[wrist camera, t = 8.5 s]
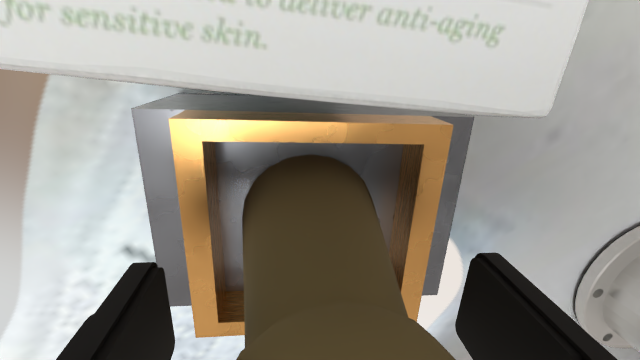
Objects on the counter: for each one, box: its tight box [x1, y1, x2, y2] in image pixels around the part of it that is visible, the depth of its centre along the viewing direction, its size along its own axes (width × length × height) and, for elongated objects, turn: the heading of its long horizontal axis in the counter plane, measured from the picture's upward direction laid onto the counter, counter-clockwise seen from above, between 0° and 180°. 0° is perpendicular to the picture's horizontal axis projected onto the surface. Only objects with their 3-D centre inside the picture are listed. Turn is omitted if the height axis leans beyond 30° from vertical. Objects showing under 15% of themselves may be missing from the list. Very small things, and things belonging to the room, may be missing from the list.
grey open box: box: [131, 93, 474, 338], centre depth 17 cm, size 14×10×8 cm
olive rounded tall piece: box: [237, 154, 455, 360], centre depth 10 cm, size 6×6×11 cm
